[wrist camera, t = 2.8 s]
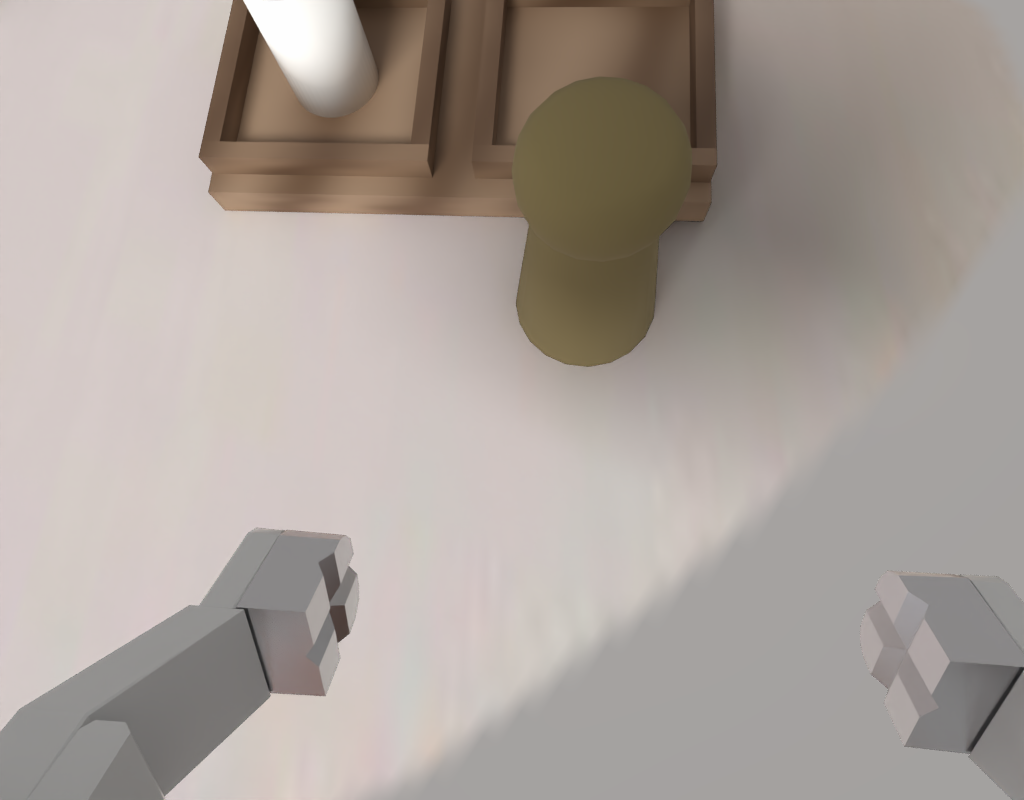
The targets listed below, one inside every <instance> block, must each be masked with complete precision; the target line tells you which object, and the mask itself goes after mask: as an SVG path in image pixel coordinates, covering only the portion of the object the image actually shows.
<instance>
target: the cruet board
mask: <svg viewBox="0 0 1024 800" xmlns="http://www.w3.org/2000/svg"><path fill="white" fill-rule="evenodd" d="M353 1H354V4H355V7H356V10H357V13H358V16H359V18H360V21H361V24H362V27H363V30H364V32H365V35H366V38H367V41H368V44H369V46H370V49H371V52H372V55H373V58H374V61H375V63H376V66H377V70H378V76H379V78H378V85H377V88H376V91H375V93H374V95H373V96H372V98H371V99H370V100H369V101H368V102H367V103H366V104H365V105H364V106H363V107H362V108H360V109H359V110H357V111H355V112H353V113H351V114H348V115H345V116H341V117H333V118H329V117H321V116H318V115H315V114H313V113H310V112H309V111H307V110H306V109H305V108H304V107H303V106H302V105H301V104H300V103H299V101H298V99H297V97H296V95H295V94H294V92H293V90H292V88H291V86H290V85H289V83H288V81H287V79H286V77H285V75H284V74H283V72H282V70H281V68H280V66H279V65H278V63H277V61H276V59H275V57H274V55H273V54H272V52H271V50H270V48H269V46H268V45H267V43H266V41H265V39H264V37H263V35H262V34H261V32H260V30H259V28H258V26H257V24H256V23H255V21H254V19H253V17H252V15H251V14H250V12H249V10H248V8H247V6H246V4H245V3H244V1H243V0H233V3H232V8H231V12H230V17H229V21H228V26H227V30H226V35H225V40H224V44H223V49H222V53H221V58H220V62H219V67H218V71H217V76H216V81H215V85H214V90H213V94H212V99H211V103H210V108H209V112H208V117H207V121H206V126H205V131H204V135H203V140H202V144H201V149H200V153H199V158H200V159H201V160H202V161H203V163H204V164H205V165H206V166H207V167H208V168H209V169H210V171H211V172H212V177H211V181H210V186H209V191H208V192H209V193H210V195H211V196H212V197H213V198H214V199H215V200H216V201H217V202H218V203H219V204H220V205H221V206H222V208H223V209H224V210H231V211H275V212H319V213H362V214H406V215H450V216H494V217H524V215H523V214H522V212H521V211H520V209H519V207H518V205H517V200H516V195H515V190H514V185H513V179H512V171H511V170H512V164H513V158H514V152H515V146H516V143H517V139H518V136H519V134H520V132H521V130H522V128H523V127H524V125H525V123H526V121H527V119H528V118H529V116H530V114H531V113H532V112H533V111H534V110H535V109H536V108H537V107H538V106H540V105H541V104H542V103H543V102H544V101H545V100H546V99H547V98H548V97H549V96H550V95H551V94H552V93H554V92H555V91H557V90H559V89H561V88H563V87H565V86H567V85H569V84H571V83H573V82H575V81H578V80H584V79H589V78H594V77H599V76H601V77H616V78H625V79H628V80H631V81H634V82H637V83H640V84H643V85H645V86H647V87H649V88H650V89H652V90H653V91H654V92H656V93H657V94H659V95H660V96H661V97H663V98H664V99H666V101H667V102H668V103H669V105H670V106H671V107H672V109H673V110H674V112H675V113H676V114H677V116H678V117H679V118H680V120H681V121H682V123H683V124H684V125H685V128H686V131H687V135H688V138H689V141H690V145H691V148H692V172H691V184H690V188H689V191H688V193H687V196H686V198H685V200H684V202H683V205H682V207H681V209H680V211H679V213H678V215H677V217H676V219H675V221H704V219H705V216H706V214H707V212H708V209H709V207H710V205H711V179H712V176H713V174H714V171H715V169H716V167H717V140H716V93H715V46H714V0H353Z"/></svg>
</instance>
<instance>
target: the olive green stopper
mask: <svg viewBox="0 0 1024 800" xmlns="http://www.w3.org/2000/svg"><path fill="white" fill-rule="evenodd" d="M511 171H512V179H513V185H514V190H515V195H516V200H517V205H518V207H519V209H520V211H521V212H522V214H523V215H524V217H525V219H526V220H527V222H528V224H529V228H528V234H527V240H526V246H525V252H524V257H523V263H522V269H521V275H520V281H519V287H518V293H517V300H516V306H517V312H518V317H519V322H520V325H521V326H522V328H523V330H524V332H525V333H526V335H527V337H528V338H529V340H530V342H532V343H533V344H534V345H535V346H536V347H537V348H538V349H539V350H541V351H542V352H543V353H544V354H545V355H546V356H549V357H551V358H553V359H556V360H558V361H560V362H562V363H565V364H569V365H578V366H587V367H589V366H595V365H600V364H606V363H611V362H612V361H614V360H616V359H618V358H620V357H622V356H624V355H626V354H628V353H629V352H631V351H632V350H633V348H634V347H635V346H636V345H637V344H638V343H639V342H640V341H641V340H642V339H643V338H644V337H645V335H646V333H647V331H648V329H649V326H650V324H651V322H652V320H653V316H654V305H655V293H656V278H657V262H658V247H659V236H660V235H661V234H662V233H663V232H664V231H665V230H666V229H667V228H668V227H669V226H670V225H671V224H672V223H673V222H674V221H675V219H676V217H677V215H678V213H679V211H680V209H681V207H682V205H683V202H684V200H685V198H686V196H687V193H688V191H689V188H690V184H691V172H692V148H691V145H690V141H689V138H688V135H687V131H686V128H685V125H684V124H683V123H682V121H681V120H680V118H679V117H678V116H677V114H676V113H675V112H674V110H673V109H672V107H671V106H670V105H669V103H668V102H667V101H666V99H664V98H663V97H661V96H660V95H659V94H657V93H656V92H654V91H653V90H652V89H650V88H649V87H647V86H645V85H643V84H640V83H637V82H634V81H631V80H628V79H625V78H616V77H601V76H599V77H594V78H589V79H584V80H578V81H575V82H573V83H571V84H569V85H567V86H565V87H563V88H561V89H559V90H557V91H555V92H554V93H552V94H551V95H550V96H549V97H548V98H547V99H546V100H545V101H544V102H543V103H542V104H541V105H540V106H538V107H537V108H536V109H535V110H534V111H533V112H532V113H531V114H530V116H529V118H528V119H527V121H526V123H525V125H524V127H523V128H522V130H521V132H520V134H519V136H518V139H517V143H516V146H515V152H514V158H513V164H512V170H511Z"/></svg>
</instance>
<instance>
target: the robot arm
mask: <svg viewBox="0 0 1024 800" xmlns="http://www.w3.org/2000/svg"><path fill="white" fill-rule="evenodd" d="M353 554H354V553H353V548H352V544H351V539H350V538H349V537H348V536H346V535H338V534H327V533H316V532H305V531H294V530H286V531H285V530H275V529H264V528H255V529H254V530H252V531H250V532H249V533H248V534H247V535H246V536H245V538H244V539H243V541H242V542H241V544H240V545H239V547H238V548H237V550H236V551H235V553H234V554H233V556H232V557H231V559H230V560H229V562H228V563H227V565H226V566H225V568H224V569H223V571H222V572H221V574H220V575H219V577H218V578H217V580H216V581H215V583H214V584H213V586H212V587H211V589H210V590H209V592H208V593H207V594H206V596H205V597H204V599H203V600H202V602H201V603H200V605H199V606H194V605H189V606H187V607H186V608H184V609H183V610H181V611H179V612H178V613H176V614H174V615H173V616H171V617H169V618H168V619H166V620H165V621H163V622H161V623H160V624H158V625H156V626H155V627H153V628H151V629H150V630H148V631H147V632H145V633H143V634H142V635H140V636H138V637H137V638H135V639H133V640H132V641H130V642H129V643H127V644H125V645H124V646H122V647H120V648H119V649H117V650H115V651H114V652H112V653H111V654H109V655H107V656H106V657H104V658H102V659H101V660H99V661H97V662H96V663H94V664H93V665H91V666H89V667H88V668H86V669H84V670H83V671H81V672H79V673H78V674H76V675H75V676H73V677H71V678H70V679H68V680H66V681H65V682H63V683H61V684H60V685H58V686H57V687H55V688H53V689H52V690H50V691H48V692H47V693H45V694H43V695H42V696H40V697H39V698H37V699H35V700H34V701H32V702H30V703H29V704H27V705H25V706H24V707H22V708H21V709H19V710H18V711H17V713H16V714H15V715H14V716H13V717H12V719H11V720H10V721H9V722H8V723H7V725H6V726H5V727H4V728H3V729H2V731H1V732H0V800H166V799H165V797H164V796H165V795H166V794H168V793H169V792H170V791H171V790H172V789H173V788H174V787H175V786H176V785H177V784H178V783H179V782H180V781H181V780H182V779H183V778H185V777H186V776H187V775H188V774H189V773H190V772H191V771H192V770H193V769H194V768H195V767H196V766H197V765H198V764H199V763H200V762H202V761H203V760H204V759H205V758H206V757H207V756H208V755H209V754H210V753H211V752H212V751H213V750H214V749H215V748H216V747H217V746H218V745H220V744H221V743H222V742H223V741H224V740H225V739H226V738H227V737H228V736H229V735H230V734H231V733H232V732H233V731H234V730H235V729H237V728H238V727H239V726H240V725H241V724H242V723H243V722H244V721H245V720H246V719H247V718H248V717H249V716H250V715H251V714H252V713H254V712H255V711H256V710H257V709H258V708H259V707H260V706H261V705H262V704H263V703H264V702H265V701H266V700H267V699H268V698H269V697H270V693H278V694H296V695H313V696H326V694H327V691H328V689H329V686H330V683H331V681H332V678H333V676H334V673H335V671H336V668H337V665H338V663H339V660H340V653H339V648H338V642H340V641H341V640H342V639H344V638H345V637H346V636H347V635H349V634H350V632H351V629H352V626H353V623H354V620H355V617H356V612H357V607H358V601H359V583H358V576H357V573H355V572H354V571H353V570H352V569H351V568H350V567H349V563H350V561H351V559H352V556H353ZM875 590H876V592H877V594H878V596H879V598H880V600H881V601H879V602H878V603H876V604H875V605H873V606H872V607H870V608H869V609H867V610H866V612H865V615H864V618H863V621H862V623H861V626H860V627H861V628H860V631H861V632H860V635H861V636H860V638H861V640H860V642H861V648H862V653H863V657H864V660H865V662H866V664H867V667H868V669H869V671H870V674H871V675H872V676H873V677H874V678H876V679H877V680H878V681H879V682H880V683H881V684H883V685H884V686H885V687H886V688H887V689H888V692H887V694H886V697H885V700H884V704H885V707H886V709H887V711H888V713H889V715H890V717H891V719H892V722H893V724H894V726H895V728H896V730H897V732H898V734H899V737H900V739H901V741H902V743H903V745H904V746H905V747H913V748H922V749H930V750H939V751H948V752H957V753H966V754H970V755H969V758H970V759H971V760H972V761H973V762H974V763H975V764H976V765H977V766H978V767H979V768H980V769H981V770H982V771H983V772H984V773H985V774H986V775H987V776H988V777H989V778H990V779H991V780H992V781H993V782H994V783H996V785H997V786H998V787H999V788H1001V789H1002V790H1003V791H1004V792H1005V793H1006V794H1007V795H1008V796H1009V797H1010V798H1011V799H1012V800H1024V603H1023V601H1022V600H1021V599H1020V598H1019V597H1018V595H1017V594H1016V593H1015V591H1014V590H1013V589H1012V588H1011V586H1010V585H1009V584H1008V583H1007V582H1005V581H1004V580H1002V579H1001V578H999V577H997V576H979V575H954V574H937V573H920V572H903V571H886V572H885V573H884V574H883V575H882V576H881V577H880V578H879V581H878V583H877V585H876V588H875Z"/></svg>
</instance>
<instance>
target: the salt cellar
mask: <svg viewBox="0 0 1024 800" xmlns="http://www.w3.org/2000/svg"><path fill="white" fill-rule="evenodd" d="M243 1H244V3H245V4H246V6H247V8H248V10H249V12H250V14H251V15H252V17H253V19H254V21H255V23H256V24H257V26H258V28H259V30H260V32H261V34H262V35H263V37H264V39H265V41H266V43H267V45H268V46H269V48H270V50H271V52H272V54H273V55H274V57H275V59H276V61H277V63H278V65H279V66H280V68H281V70H282V72H283V74H284V75H285V77H286V79H287V81H288V83H289V85H290V86H291V88H292V90H293V92H294V94H295V95H296V97H297V99H298V101H299V103H300V104H301V105H302V106H303V107H304V108H305V109H306V110H307V111H309V112H310V113H313V114H315V115H318V116H321V117H329V118H333V117H341V116H345V115H348V114H351V113H353V112H355V111H357V110H359V109H360V108H362V107H363V106H364V105H365V104H366V103H367V102H368V101H369V100H370V99H371V98H372V96H373V95H374V93H375V91H376V88H377V85H378V78H379V76H378V70H377V66H376V63H375V61H374V58H373V55H372V52H371V49H370V46H369V44H368V41H367V38H366V35H365V32H364V30H363V27H362V24H361V21H360V18H359V16H358V13H357V10H356V7H355V4H354V1H353V0H243Z"/></svg>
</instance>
